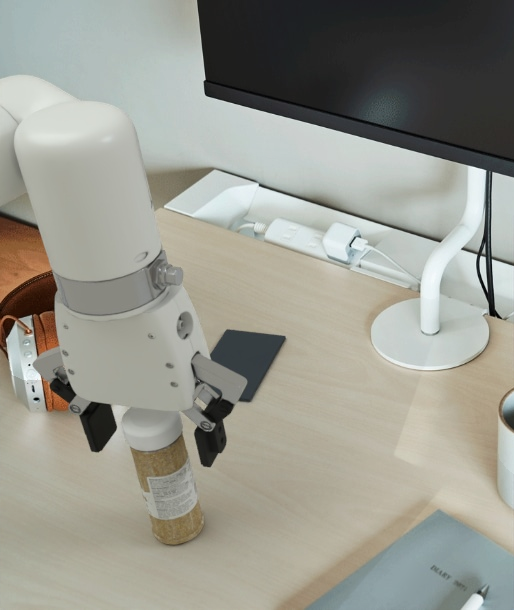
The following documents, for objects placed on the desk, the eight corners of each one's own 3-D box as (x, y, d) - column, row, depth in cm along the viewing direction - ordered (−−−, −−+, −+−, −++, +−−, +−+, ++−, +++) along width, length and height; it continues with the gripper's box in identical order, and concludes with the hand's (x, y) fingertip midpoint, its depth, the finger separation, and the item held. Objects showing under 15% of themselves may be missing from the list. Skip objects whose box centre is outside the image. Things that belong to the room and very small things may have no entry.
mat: (186, 394, 96) (185, 391, 96) (227, 331, 105) (226, 328, 105) (250, 402, 96) (249, 399, 95) (285, 338, 104) (285, 335, 104)
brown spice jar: (153, 512, 83) (121, 400, 75) (205, 503, 84) (179, 392, 76) (152, 552, 80) (118, 438, 72) (206, 542, 81) (178, 428, 73)
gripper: (246, 259, 68) (274, 429, 78) (30, 237, 70) (84, 405, 80) (205, 318, 62) (241, 495, 72) (-30, 291, 64) (37, 467, 74)
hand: (158, 447), depth 76 cm, fingers open, 9 cm apart
